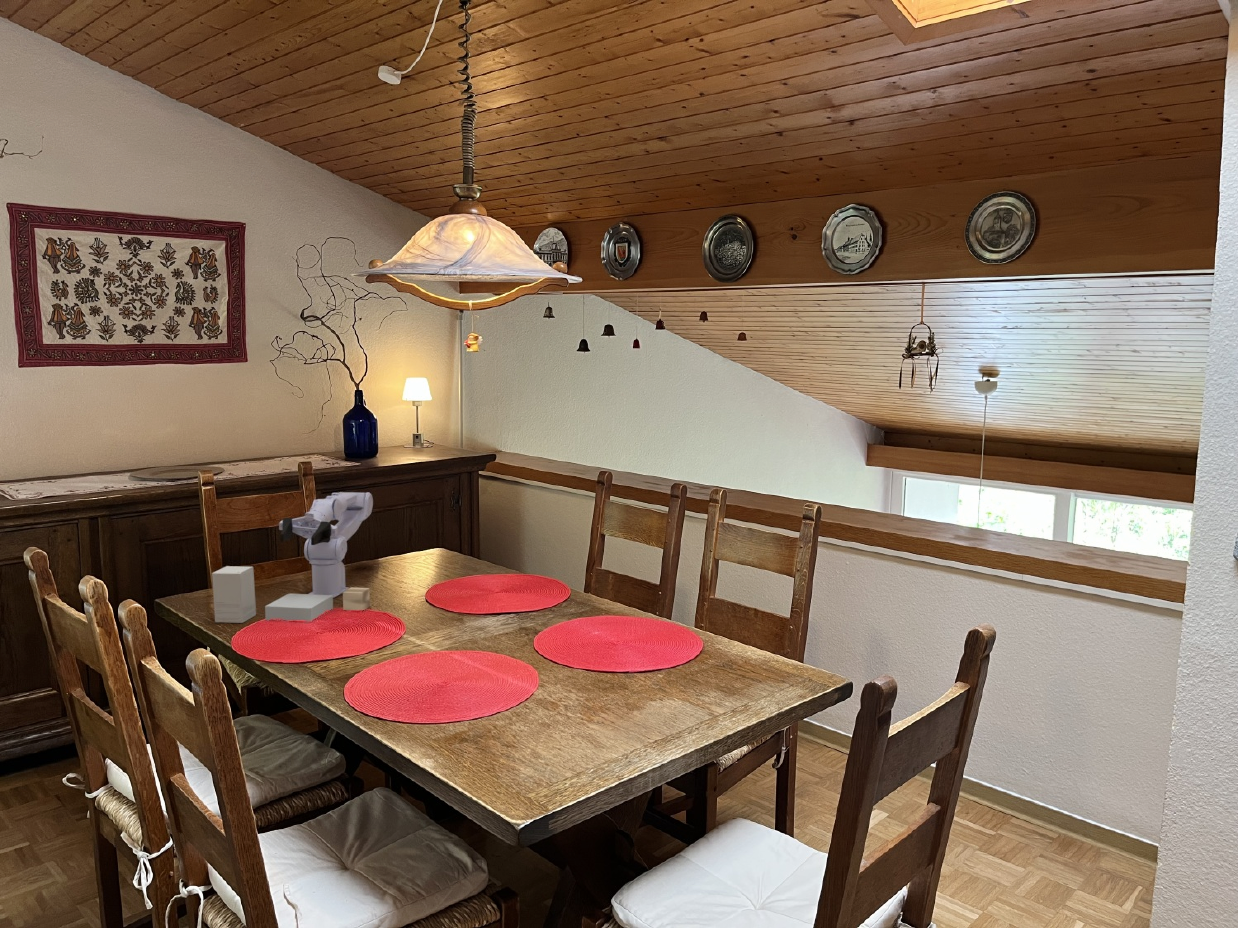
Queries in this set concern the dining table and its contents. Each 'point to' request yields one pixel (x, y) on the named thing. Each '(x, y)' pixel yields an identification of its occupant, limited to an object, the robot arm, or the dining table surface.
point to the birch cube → (356, 599)
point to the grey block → (299, 607)
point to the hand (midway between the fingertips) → (297, 539)
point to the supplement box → (234, 594)
